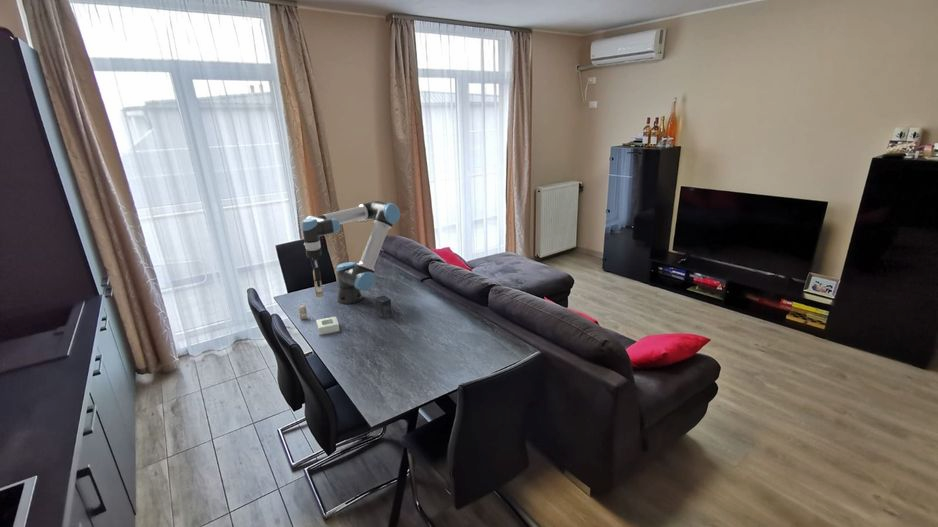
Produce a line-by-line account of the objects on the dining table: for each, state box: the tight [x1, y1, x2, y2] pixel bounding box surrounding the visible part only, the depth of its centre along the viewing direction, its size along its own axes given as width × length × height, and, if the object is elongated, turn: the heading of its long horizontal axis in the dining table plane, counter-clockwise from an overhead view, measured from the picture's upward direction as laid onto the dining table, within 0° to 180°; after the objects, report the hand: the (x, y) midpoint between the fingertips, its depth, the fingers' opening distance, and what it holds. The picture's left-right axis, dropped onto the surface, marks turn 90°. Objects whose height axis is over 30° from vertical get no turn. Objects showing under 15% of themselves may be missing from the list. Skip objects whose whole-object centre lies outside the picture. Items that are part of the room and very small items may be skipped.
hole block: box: [315, 316, 340, 336], centre depth 215 cm, size 10×10×4 cm
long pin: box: [312, 270, 324, 298], centre depth 219 cm, size 4×4×14 cm
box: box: [374, 295, 393, 320], centre depth 229 cm, size 8×6×11 cm
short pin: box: [298, 305, 308, 320], centre depth 227 cm, size 4×4×7 cm
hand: (319, 290), depth 220 cm, fingers closed on long pin, 3 cm apart
